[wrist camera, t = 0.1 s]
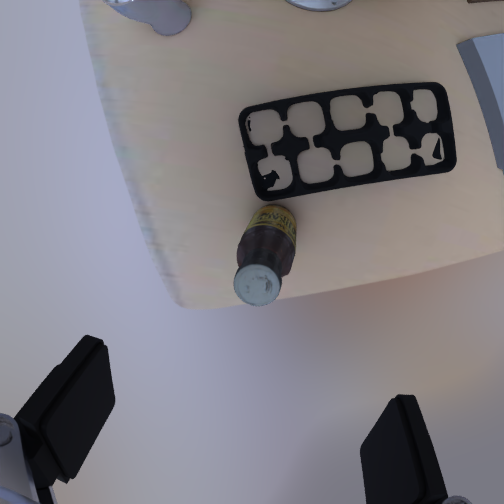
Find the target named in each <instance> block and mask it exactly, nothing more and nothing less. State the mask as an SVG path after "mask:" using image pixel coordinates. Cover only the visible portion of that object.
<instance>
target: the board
mask: <svg viewBox="0 0 504 504" xmlns="http://www.w3.org/2000/svg"><path fill="white" fill-rule="evenodd" d="M456 46H457V48H458V50H459V53H460V55H461V57H462V59H463V62H464V64H465V66H466V69H467V71H468V74H469V76H470V79H471V81H472V84H473V87H474V89H475V92H476V95H477V98H478V100H479V103H480V106H481V109H482V112H483V115H484V118H485V122H486V125H487V128H488V132H489V135H490V139H491V143H492V146H493V150H494V154H495V158H496V162H497V167H498V168H500V169H503V170H504V33H502V34H495V35H489V36H483V37H477V38H472V39H469V40H467V41H464V42H462V43H460V44H457V45H456Z"/></svg>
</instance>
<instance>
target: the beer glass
mask: <svg viewBox="0 0 504 504" xmlns="http://www.w3.org/2000/svg"><path fill="white" fill-rule="evenodd" d="M103 2H104V3H106V4H108V5H109V6H110V7H111V8H113V9H114V10H115V11H117V12H118V13H120V14H121V15H123V16H125V17H127V18H129V19H132V20H135V21H138V22H142V23H146V24H150V25H151V26H152V28H153V29H154V31H155V32H157V33H158V34H160V35H164V36H170V35H175V34H177V33H179V32H181V31H182V30H184V29H185V28H186V27H187V25H188V24H189V22H190V20H191V9H190V7H189V6H188V5H187V4H186V3H185V2H183V1H181V0H103Z"/></svg>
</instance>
